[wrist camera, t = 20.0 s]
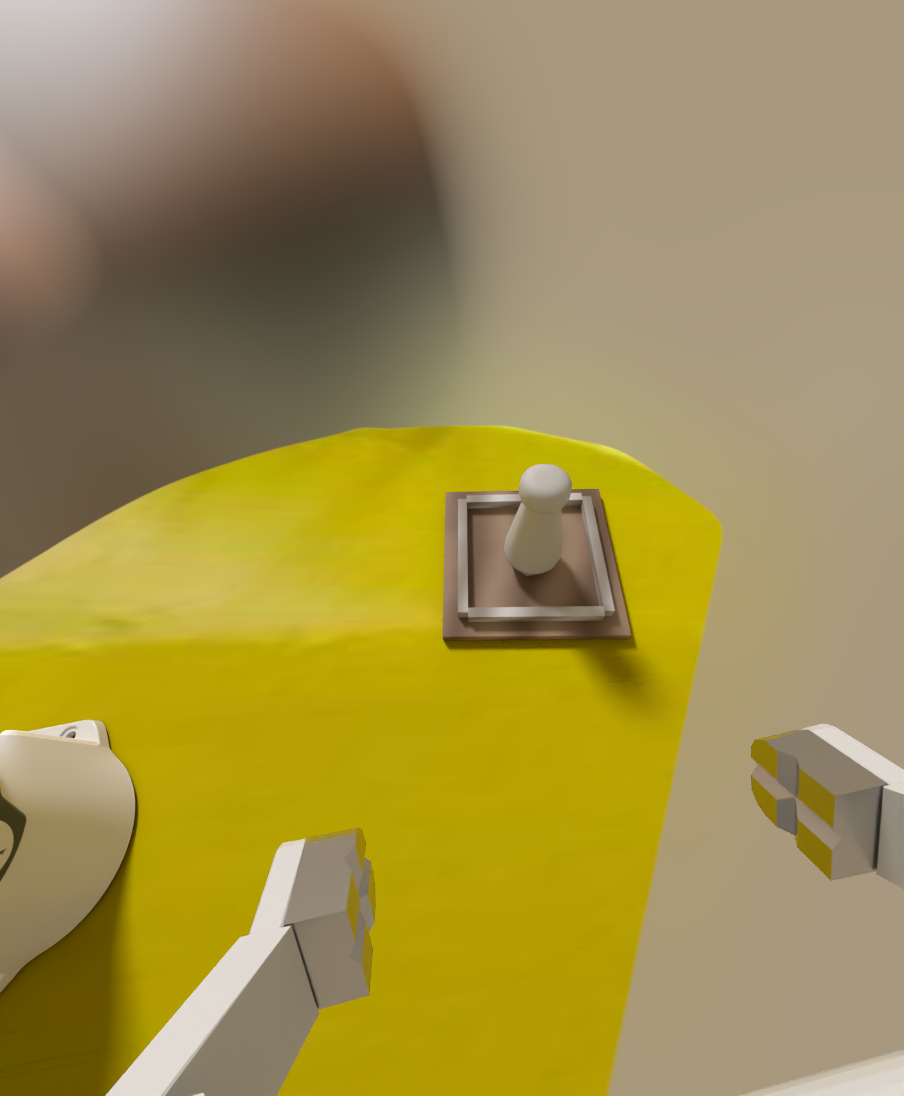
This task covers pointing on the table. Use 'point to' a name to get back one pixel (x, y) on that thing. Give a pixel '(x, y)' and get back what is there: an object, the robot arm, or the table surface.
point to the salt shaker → (538, 520)
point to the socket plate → (529, 601)
